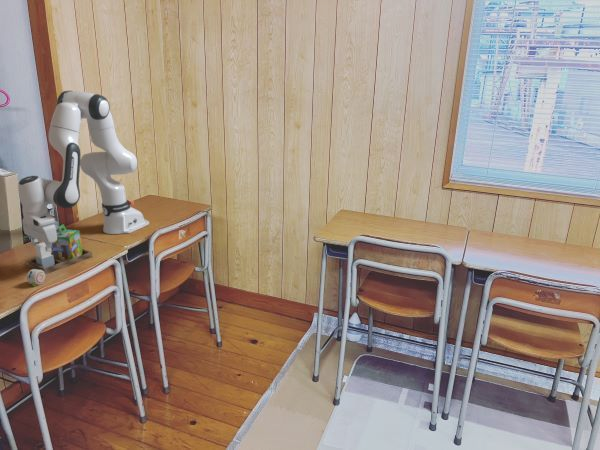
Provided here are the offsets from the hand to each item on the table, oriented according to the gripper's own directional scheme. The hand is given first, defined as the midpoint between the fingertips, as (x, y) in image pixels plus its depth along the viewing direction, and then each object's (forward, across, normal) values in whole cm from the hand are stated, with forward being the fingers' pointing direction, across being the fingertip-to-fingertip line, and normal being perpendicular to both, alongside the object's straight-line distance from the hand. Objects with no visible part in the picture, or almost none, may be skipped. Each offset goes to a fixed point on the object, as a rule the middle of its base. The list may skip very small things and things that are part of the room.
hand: (42, 248), depth 204 cm
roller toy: (+8, +12, -10) cm, 18 cm away
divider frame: (+8, 0, +6) cm, 10 cm away
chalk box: (+8, 0, +10) cm, 13 cm away
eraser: (+3, 0, 0) cm, 3 cm away
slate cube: (+8, 0, 0) cm, 8 cm away
